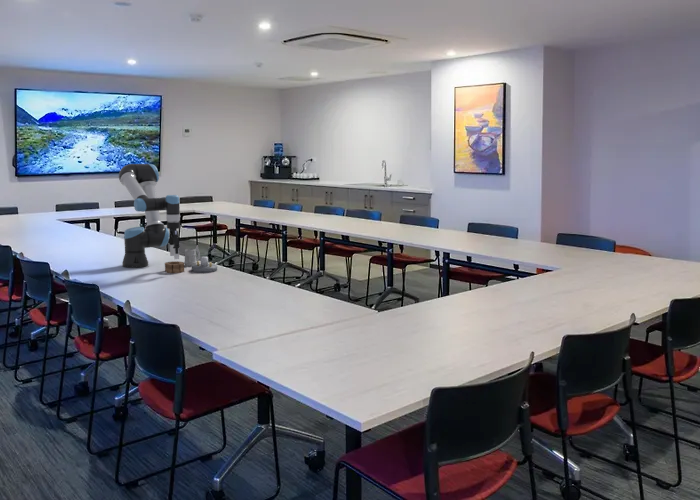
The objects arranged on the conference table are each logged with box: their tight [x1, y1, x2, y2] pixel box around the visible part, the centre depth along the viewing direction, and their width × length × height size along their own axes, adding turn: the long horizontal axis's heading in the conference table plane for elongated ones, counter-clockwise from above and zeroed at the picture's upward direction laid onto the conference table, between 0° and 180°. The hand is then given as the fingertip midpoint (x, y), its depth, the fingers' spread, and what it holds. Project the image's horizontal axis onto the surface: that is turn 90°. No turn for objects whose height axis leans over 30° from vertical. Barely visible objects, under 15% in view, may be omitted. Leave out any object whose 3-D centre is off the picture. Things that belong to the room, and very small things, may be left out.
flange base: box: [191, 256, 218, 274], centre depth 375 cm, size 15×15×8 cm
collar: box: [164, 260, 185, 274], centre depth 371 cm, size 11×11×5 cm
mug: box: [183, 244, 201, 267], centre depth 392 cm, size 8×12×12 cm, turn 148°
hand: (174, 257), depth 370 cm, fingers open, 13 cm apart
